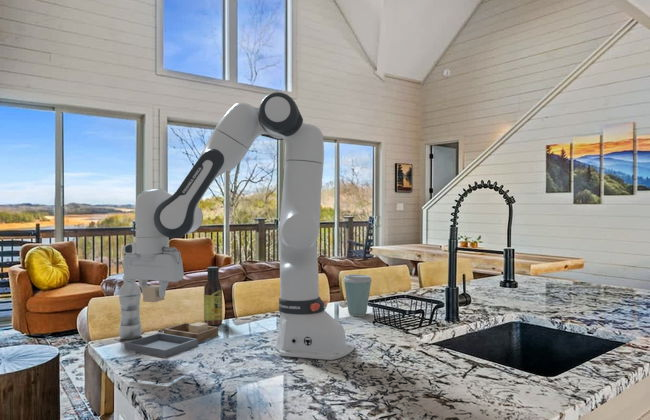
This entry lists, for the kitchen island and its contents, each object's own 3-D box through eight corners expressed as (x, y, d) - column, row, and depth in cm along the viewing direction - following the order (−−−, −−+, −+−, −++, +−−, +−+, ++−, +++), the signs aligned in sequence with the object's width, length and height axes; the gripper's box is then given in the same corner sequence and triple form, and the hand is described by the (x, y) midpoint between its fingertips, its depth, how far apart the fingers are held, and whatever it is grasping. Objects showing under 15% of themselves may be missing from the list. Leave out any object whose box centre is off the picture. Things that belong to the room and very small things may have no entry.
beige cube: (164, 299, 130) (164, 285, 130) (155, 302, 126) (154, 287, 127) (152, 299, 132) (152, 285, 132) (143, 301, 128) (142, 287, 128)
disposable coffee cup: (356, 310, 178) (355, 271, 178) (378, 314, 171) (377, 274, 171) (337, 315, 171) (337, 274, 171) (360, 319, 163) (359, 277, 163)
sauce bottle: (217, 326, 156) (216, 268, 156) (200, 326, 158) (199, 268, 158) (225, 322, 163) (224, 266, 163) (209, 321, 164) (208, 266, 164)
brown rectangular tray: (218, 336, 143) (218, 327, 143) (197, 344, 135) (197, 334, 135) (185, 331, 150) (185, 322, 150) (164, 338, 142) (163, 329, 142)
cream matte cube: (198, 334, 144) (197, 322, 144) (207, 336, 142) (207, 323, 142) (188, 337, 140) (188, 324, 140) (198, 339, 139) (198, 326, 139)
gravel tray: (197, 347, 133) (197, 338, 133) (165, 359, 122) (164, 350, 122) (158, 340, 140) (158, 332, 140) (125, 351, 130) (124, 342, 130)
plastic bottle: (146, 337, 144) (145, 274, 144) (129, 343, 138) (128, 277, 138) (131, 335, 147) (130, 273, 147) (114, 341, 140) (113, 276, 140)
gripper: (188, 246, 127) (189, 296, 127) (137, 245, 137) (138, 291, 136) (171, 248, 121) (172, 300, 121) (118, 247, 131) (119, 295, 131)
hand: (153, 295), depth 129 cm, fingers closed on beige cube, 4 cm apart
